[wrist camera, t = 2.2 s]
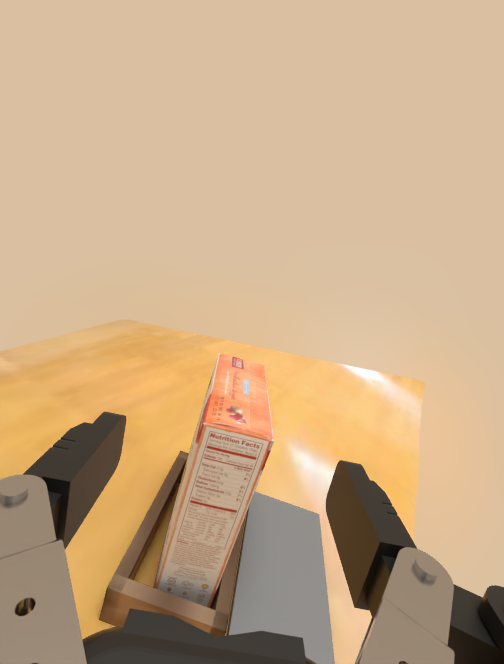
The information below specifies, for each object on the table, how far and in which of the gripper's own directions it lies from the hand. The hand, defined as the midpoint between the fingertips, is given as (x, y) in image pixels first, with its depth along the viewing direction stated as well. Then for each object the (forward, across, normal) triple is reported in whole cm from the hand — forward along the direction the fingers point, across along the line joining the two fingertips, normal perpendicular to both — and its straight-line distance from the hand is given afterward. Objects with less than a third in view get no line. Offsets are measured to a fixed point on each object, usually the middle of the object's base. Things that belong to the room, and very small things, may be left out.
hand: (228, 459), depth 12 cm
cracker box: (+20, +1, +25) cm, 32 cm away
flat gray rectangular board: (+18, -10, +26) cm, 33 cm away
